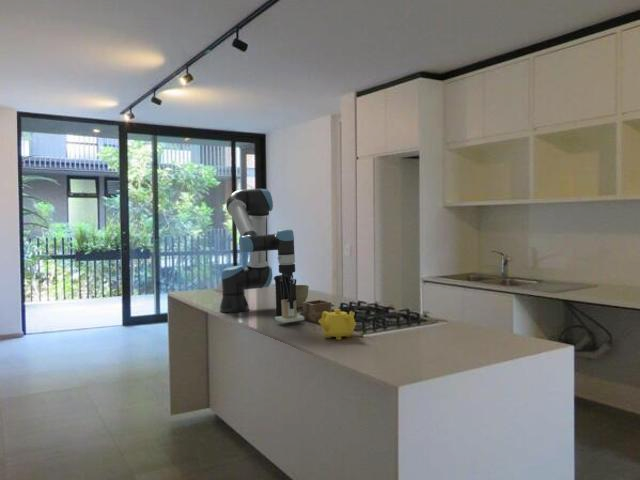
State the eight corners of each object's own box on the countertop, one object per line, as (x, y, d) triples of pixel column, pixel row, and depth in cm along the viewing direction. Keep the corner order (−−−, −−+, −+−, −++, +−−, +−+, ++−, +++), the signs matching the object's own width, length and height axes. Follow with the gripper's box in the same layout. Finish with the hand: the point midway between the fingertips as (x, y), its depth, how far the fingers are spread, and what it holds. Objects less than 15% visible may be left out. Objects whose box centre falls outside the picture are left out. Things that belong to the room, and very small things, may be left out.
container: (293, 316, 260) (291, 275, 259) (274, 316, 260) (272, 276, 259) (294, 312, 269) (292, 273, 268) (276, 313, 269) (274, 274, 268)
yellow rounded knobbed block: (339, 329, 225) (338, 303, 225) (371, 334, 213) (370, 307, 212) (304, 338, 211) (303, 311, 211) (337, 345, 199) (335, 315, 198)
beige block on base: (274, 319, 243) (273, 299, 243) (294, 316, 248) (293, 297, 248) (284, 322, 235) (283, 302, 234) (304, 319, 239) (303, 299, 239)
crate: (303, 319, 251) (302, 302, 251) (321, 316, 256) (320, 299, 256) (313, 322, 243) (312, 304, 242) (332, 319, 248) (331, 302, 247)
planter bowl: (296, 303, 297) (295, 284, 297) (315, 306, 286) (314, 285, 285) (273, 307, 287) (272, 287, 286) (292, 310, 275) (291, 289, 274)
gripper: (271, 263, 245) (274, 313, 246) (287, 265, 231) (289, 319, 232) (286, 262, 249) (289, 311, 250) (302, 264, 235) (304, 316, 236)
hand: (289, 315), depth 241 cm, fingers closed on beige block on base, 3 cm apart
